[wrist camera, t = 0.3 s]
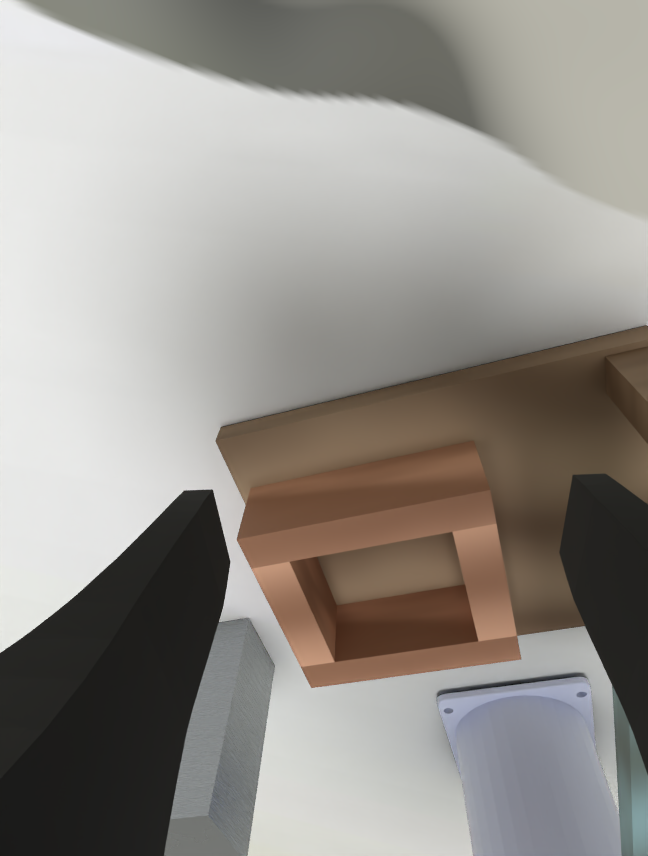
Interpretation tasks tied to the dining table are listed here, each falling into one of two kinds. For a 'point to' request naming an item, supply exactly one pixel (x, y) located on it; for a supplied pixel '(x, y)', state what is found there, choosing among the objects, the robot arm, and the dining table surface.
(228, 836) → the steel peg
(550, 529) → the socket station
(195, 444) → the dining table surface
